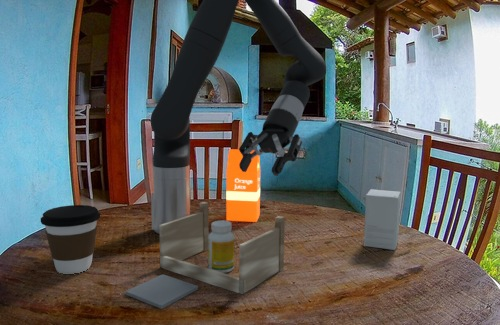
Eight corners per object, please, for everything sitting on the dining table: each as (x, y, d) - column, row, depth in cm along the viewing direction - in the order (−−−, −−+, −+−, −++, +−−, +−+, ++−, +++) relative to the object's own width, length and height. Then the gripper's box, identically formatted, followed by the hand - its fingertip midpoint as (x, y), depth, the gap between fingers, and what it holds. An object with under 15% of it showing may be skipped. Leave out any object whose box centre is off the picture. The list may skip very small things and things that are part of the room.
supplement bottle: (202, 267, 87) (202, 222, 86) (224, 261, 90) (224, 217, 89) (218, 276, 83) (218, 228, 82) (239, 269, 86) (240, 223, 85)
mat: (125, 294, 75) (125, 291, 75) (162, 277, 82) (162, 274, 82) (161, 308, 70) (161, 305, 70) (198, 289, 77) (198, 286, 77)
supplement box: (398, 241, 105) (402, 191, 103) (395, 251, 98) (398, 197, 96) (368, 237, 108) (370, 188, 106) (362, 246, 101) (365, 194, 99)
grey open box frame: (159, 267, 87) (158, 215, 85) (203, 248, 98) (203, 201, 97) (244, 294, 75) (244, 234, 73) (283, 269, 87) (284, 217, 85)
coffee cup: (59, 258, 91) (56, 203, 89) (110, 259, 91) (108, 204, 89) (32, 279, 80) (28, 218, 79) (89, 280, 80) (86, 219, 78)
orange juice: (231, 213, 129) (231, 147, 126) (260, 214, 127) (260, 148, 124) (226, 220, 121) (226, 150, 118) (256, 222, 120) (257, 151, 117)
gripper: (253, 107, 104) (225, 159, 96) (305, 107, 96) (279, 164, 88) (264, 127, 109) (239, 178, 101) (315, 129, 101) (291, 184, 93)
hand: (258, 171), depth 95 cm, fingers open, 8 cm apart
